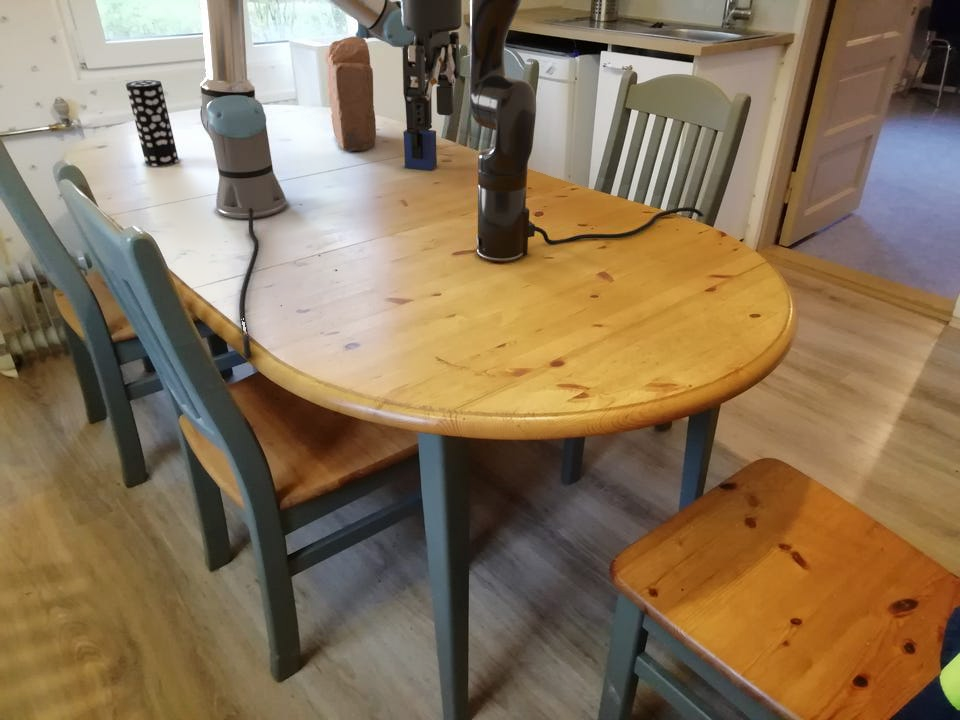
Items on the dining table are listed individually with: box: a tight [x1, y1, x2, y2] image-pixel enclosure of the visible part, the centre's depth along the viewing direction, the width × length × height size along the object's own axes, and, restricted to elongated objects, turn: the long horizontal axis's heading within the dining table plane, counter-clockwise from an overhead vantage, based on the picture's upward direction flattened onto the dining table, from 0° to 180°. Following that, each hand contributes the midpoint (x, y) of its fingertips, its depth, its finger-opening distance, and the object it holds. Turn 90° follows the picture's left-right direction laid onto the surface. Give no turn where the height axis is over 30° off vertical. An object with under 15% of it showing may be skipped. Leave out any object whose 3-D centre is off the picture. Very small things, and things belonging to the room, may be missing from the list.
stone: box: [325, 36, 377, 152], centre depth 197 cm, size 22×11×28 cm, turn 18°
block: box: [402, 129, 438, 171], centre depth 183 cm, size 4×8×10 cm, turn 72°
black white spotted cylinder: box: [125, 79, 179, 167], centre depth 181 cm, size 8×8×20 cm
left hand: (420, 155), depth 184 cm, fingers closed on block, 4 cm apart
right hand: (434, 121), depth 93 cm, fingers open, 8 cm apart
